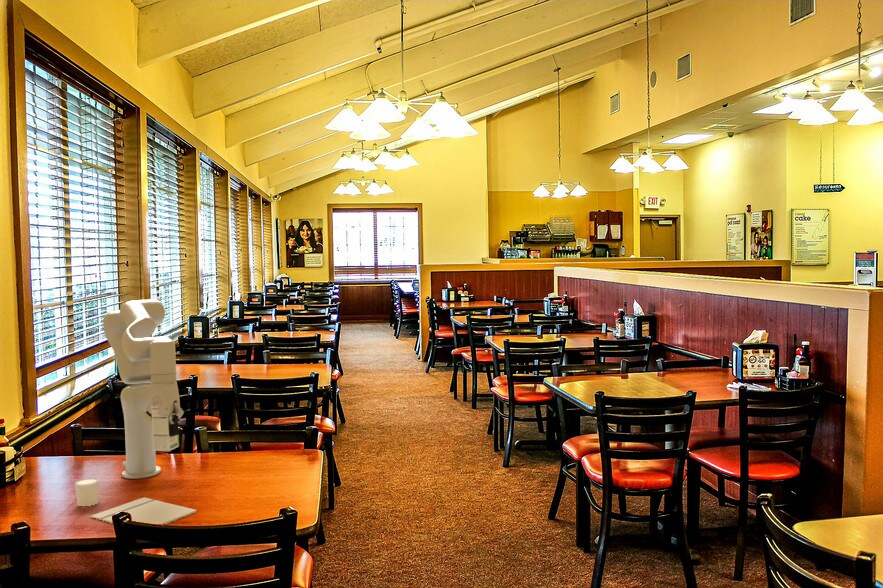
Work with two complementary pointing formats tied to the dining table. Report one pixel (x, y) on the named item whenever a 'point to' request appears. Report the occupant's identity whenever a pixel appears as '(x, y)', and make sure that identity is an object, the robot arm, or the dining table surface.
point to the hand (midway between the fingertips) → (165, 433)
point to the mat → (147, 511)
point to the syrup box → (162, 432)
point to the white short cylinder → (87, 492)
